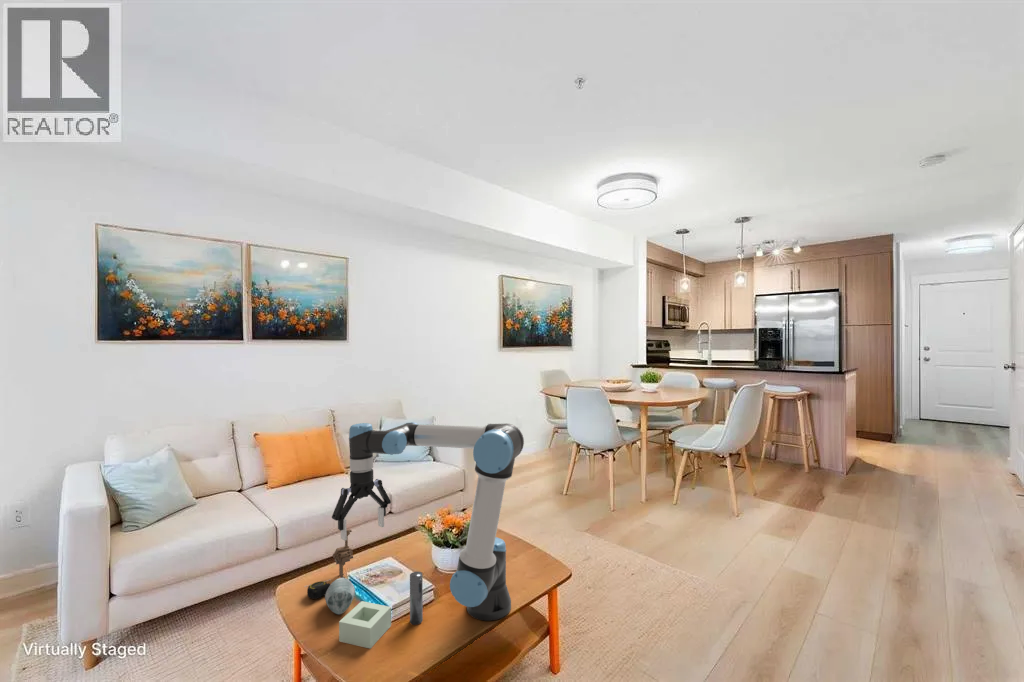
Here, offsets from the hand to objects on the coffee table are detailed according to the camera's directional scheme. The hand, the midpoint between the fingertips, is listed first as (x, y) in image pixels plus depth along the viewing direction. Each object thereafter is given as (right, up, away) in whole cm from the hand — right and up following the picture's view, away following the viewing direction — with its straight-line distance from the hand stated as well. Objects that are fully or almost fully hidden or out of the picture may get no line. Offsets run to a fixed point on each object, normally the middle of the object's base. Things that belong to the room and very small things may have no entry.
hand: (363, 532), depth 150 cm
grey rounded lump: (-7, -26, -2) cm, 27 cm away
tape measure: (-17, -26, +5) cm, 31 cm away
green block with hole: (+5, -26, -13) cm, 29 cm away
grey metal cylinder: (+20, -26, -6) cm, 33 cm away
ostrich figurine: (-19, -26, +17) cm, 36 cm away
